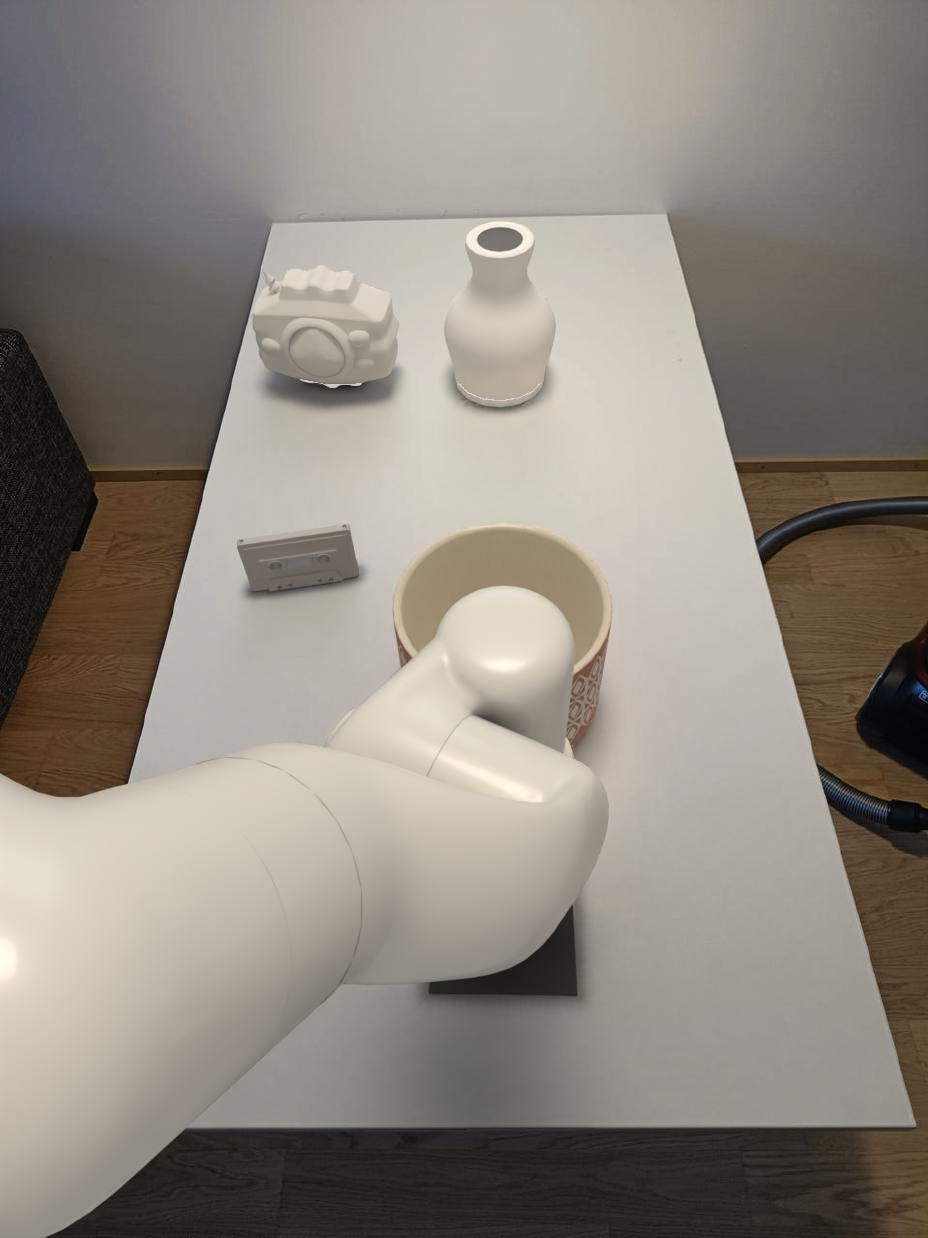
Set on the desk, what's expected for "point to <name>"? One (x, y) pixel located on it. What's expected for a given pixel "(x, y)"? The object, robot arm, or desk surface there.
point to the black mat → (528, 970)
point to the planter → (511, 562)
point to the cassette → (299, 558)
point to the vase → (499, 319)
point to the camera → (325, 327)
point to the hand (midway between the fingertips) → (503, 857)
